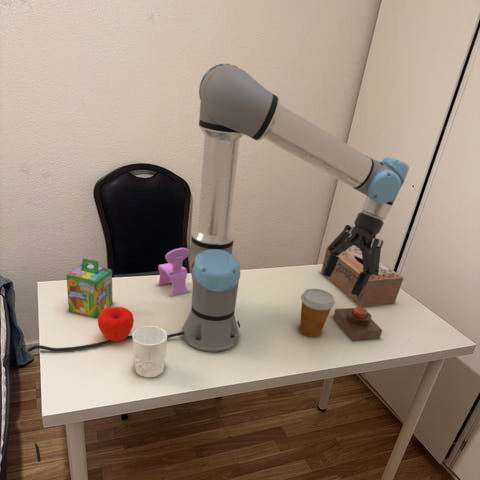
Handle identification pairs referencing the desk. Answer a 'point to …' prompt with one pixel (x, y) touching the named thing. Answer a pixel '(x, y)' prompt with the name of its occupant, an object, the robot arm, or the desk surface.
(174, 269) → the toy chair
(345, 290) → the tissue box cover
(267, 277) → the desk surface
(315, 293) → the disposable coffee cup
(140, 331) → the white cup
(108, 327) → the apple
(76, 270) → the chalk box
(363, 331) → the console
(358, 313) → the button
